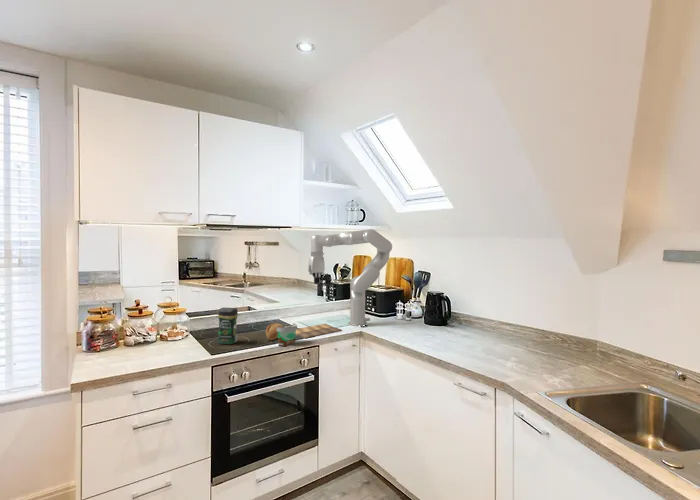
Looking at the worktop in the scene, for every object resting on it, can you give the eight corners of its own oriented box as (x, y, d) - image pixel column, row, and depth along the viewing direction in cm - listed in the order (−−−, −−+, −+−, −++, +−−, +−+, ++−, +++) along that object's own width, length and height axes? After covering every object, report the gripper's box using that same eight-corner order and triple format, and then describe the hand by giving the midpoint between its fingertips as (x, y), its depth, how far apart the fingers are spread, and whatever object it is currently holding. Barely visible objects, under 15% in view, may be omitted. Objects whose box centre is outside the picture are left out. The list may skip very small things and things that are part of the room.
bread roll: (261, 341, 193) (261, 326, 193) (271, 334, 208) (272, 320, 207) (278, 342, 191) (278, 327, 191) (287, 334, 206) (287, 321, 206)
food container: (284, 349, 179) (284, 329, 179) (276, 346, 183) (276, 327, 183) (302, 343, 189) (302, 324, 189) (293, 341, 193) (294, 323, 192)
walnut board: (333, 329, 219) (333, 327, 219) (341, 332, 213) (341, 329, 213) (297, 336, 202) (297, 334, 202) (305, 339, 196) (305, 337, 196)
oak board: (325, 325, 226) (325, 323, 226) (332, 329, 220) (333, 326, 220) (289, 332, 209) (289, 330, 208) (296, 336, 203) (297, 333, 202)
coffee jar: (215, 344, 186) (215, 308, 185) (222, 340, 193) (222, 305, 193) (233, 345, 184) (233, 309, 184) (239, 340, 192) (239, 306, 192)
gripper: (322, 254, 234) (322, 282, 235) (303, 254, 224) (303, 283, 225) (329, 254, 229) (329, 283, 229) (310, 255, 219) (310, 285, 219)
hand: (316, 283), depth 227 cm, fingers closed
